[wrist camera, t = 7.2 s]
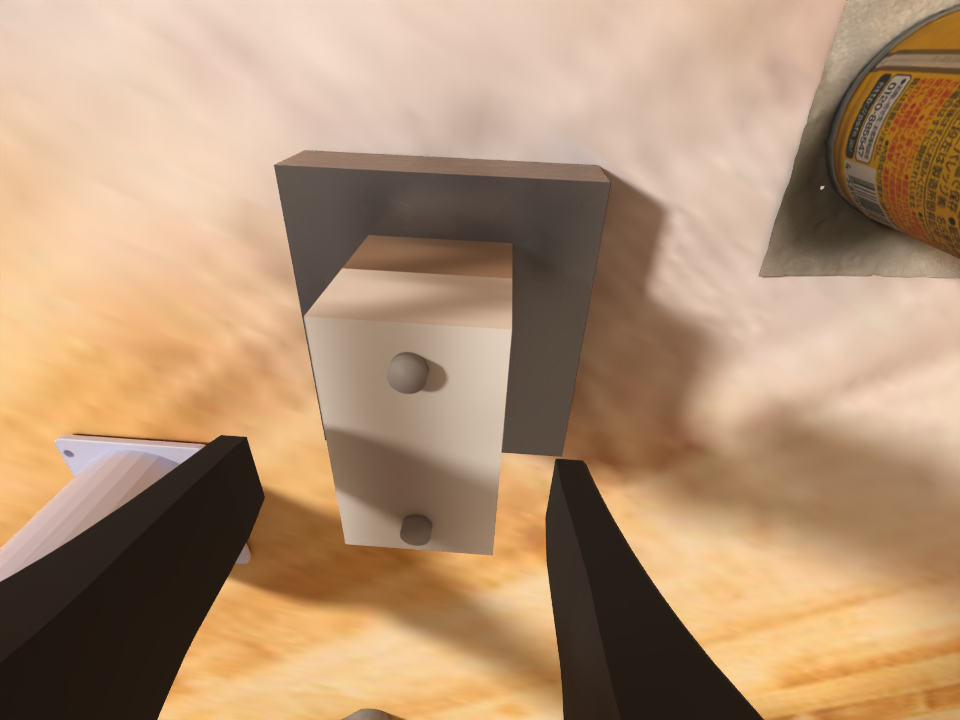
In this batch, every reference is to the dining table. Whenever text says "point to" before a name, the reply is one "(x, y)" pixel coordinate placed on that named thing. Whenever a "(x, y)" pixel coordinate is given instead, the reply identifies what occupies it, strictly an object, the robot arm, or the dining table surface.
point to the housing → (416, 389)
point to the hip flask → (368, 715)
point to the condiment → (879, 151)
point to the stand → (469, 217)
